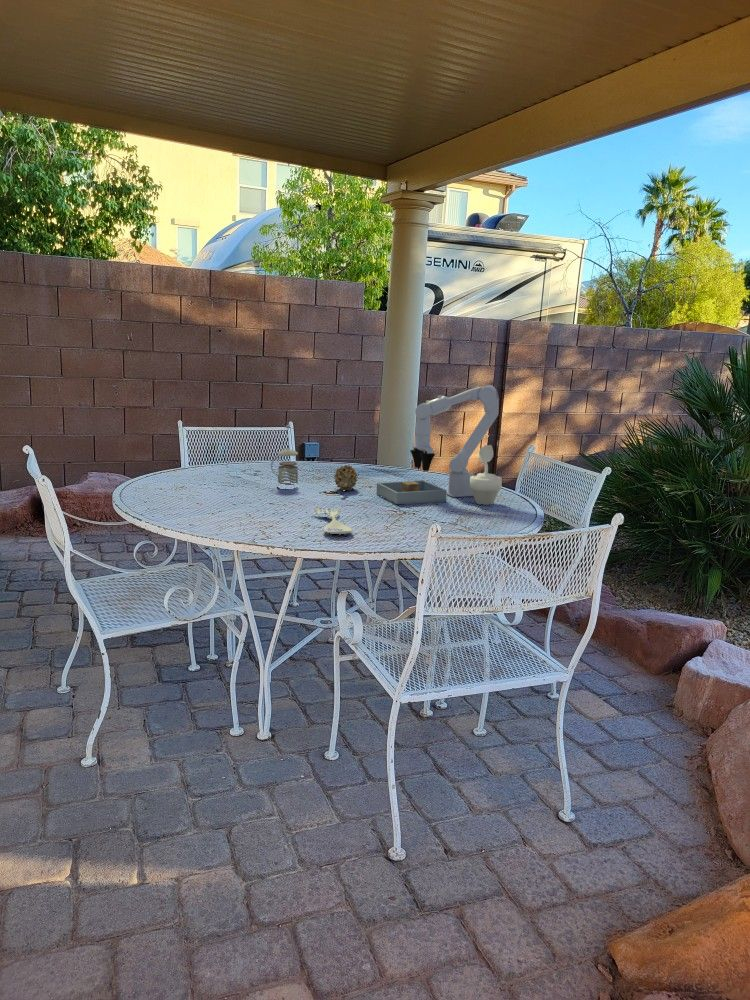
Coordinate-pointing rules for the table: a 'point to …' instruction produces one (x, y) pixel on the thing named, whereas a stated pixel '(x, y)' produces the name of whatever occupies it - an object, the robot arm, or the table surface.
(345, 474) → the pine cone
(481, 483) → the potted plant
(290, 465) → the french press
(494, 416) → the robot arm
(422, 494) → the slate bin
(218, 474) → the table surface
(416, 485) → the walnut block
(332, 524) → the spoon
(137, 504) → the table surface
